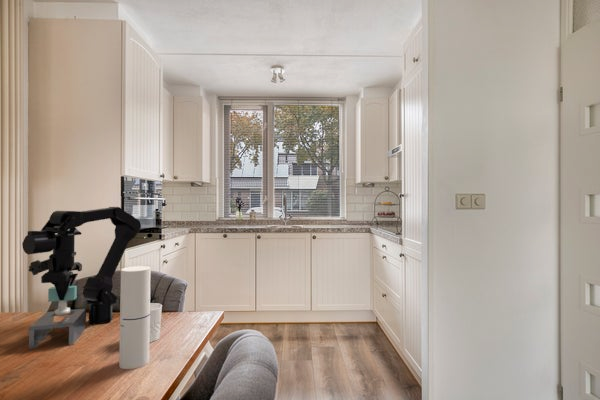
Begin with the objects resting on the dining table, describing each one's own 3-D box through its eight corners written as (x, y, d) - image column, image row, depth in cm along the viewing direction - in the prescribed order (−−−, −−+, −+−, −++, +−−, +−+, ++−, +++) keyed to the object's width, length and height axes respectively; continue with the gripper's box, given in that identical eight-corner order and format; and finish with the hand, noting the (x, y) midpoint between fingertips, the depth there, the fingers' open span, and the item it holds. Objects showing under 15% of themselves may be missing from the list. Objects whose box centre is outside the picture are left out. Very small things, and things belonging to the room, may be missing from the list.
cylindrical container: (137, 370, 86) (138, 272, 86) (112, 367, 87) (114, 270, 87) (154, 358, 93) (156, 266, 93) (131, 355, 94) (133, 265, 94)
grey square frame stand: (46, 331, 110) (47, 311, 110) (85, 328, 114) (86, 308, 114) (28, 349, 97) (29, 326, 97) (73, 344, 101) (73, 322, 101)
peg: (77, 310, 111) (77, 285, 111) (73, 314, 107) (73, 288, 107) (51, 313, 109) (52, 286, 109) (47, 317, 105) (47, 289, 105)
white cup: (128, 340, 104) (128, 308, 104) (150, 332, 111) (150, 301, 111) (145, 346, 100) (146, 312, 100) (167, 336, 107) (167, 305, 107)
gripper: (44, 247, 114) (43, 293, 114) (19, 255, 96) (19, 310, 96) (82, 245, 118) (82, 290, 118) (65, 253, 100) (65, 306, 100)
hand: (63, 298), depth 108 cm, fingers closed on peg, 2 cm apart
